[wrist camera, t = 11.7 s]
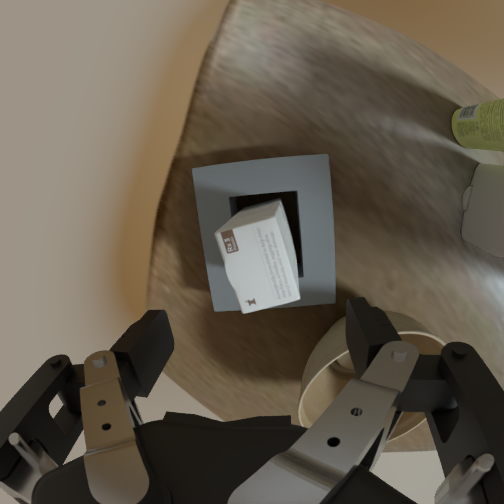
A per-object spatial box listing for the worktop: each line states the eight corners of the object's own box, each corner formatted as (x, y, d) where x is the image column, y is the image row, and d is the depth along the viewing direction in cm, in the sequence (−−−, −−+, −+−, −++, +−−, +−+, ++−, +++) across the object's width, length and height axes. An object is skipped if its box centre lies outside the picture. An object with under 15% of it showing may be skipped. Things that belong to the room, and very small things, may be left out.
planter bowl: (437, 325, 31) (476, 374, 21) (354, 402, 36) (367, 460, 25) (359, 253, 30) (395, 297, 19) (268, 352, 34) (262, 418, 24)
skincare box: (297, 250, 30) (307, 303, 18) (256, 261, 31) (242, 319, 19) (280, 193, 28) (281, 212, 17) (238, 206, 29) (211, 233, 18)
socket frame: (321, 155, 27) (328, 153, 23) (329, 286, 31) (335, 303, 27) (203, 167, 28) (191, 168, 25) (221, 294, 32) (214, 311, 28)
